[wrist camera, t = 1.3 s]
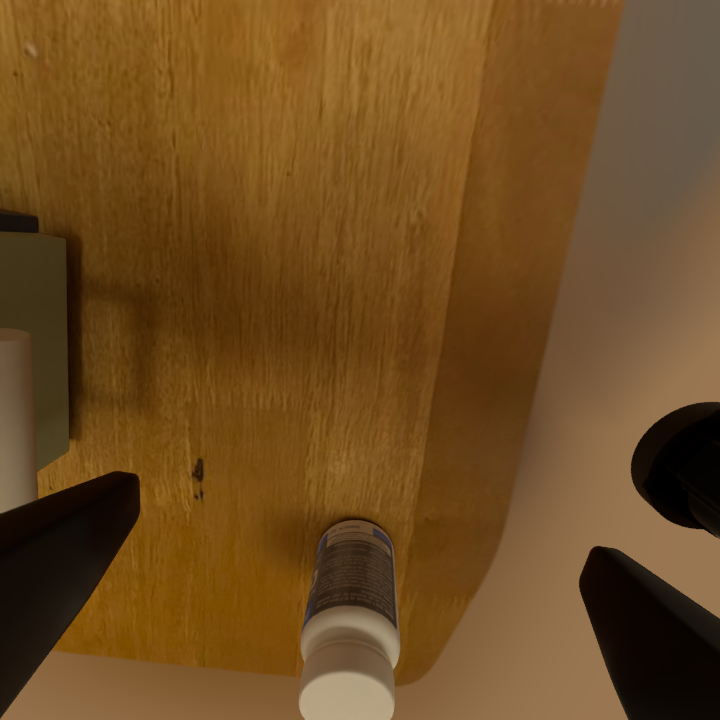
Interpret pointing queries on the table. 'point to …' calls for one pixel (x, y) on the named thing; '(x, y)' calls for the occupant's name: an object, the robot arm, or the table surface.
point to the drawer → (31, 362)
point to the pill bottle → (351, 627)
